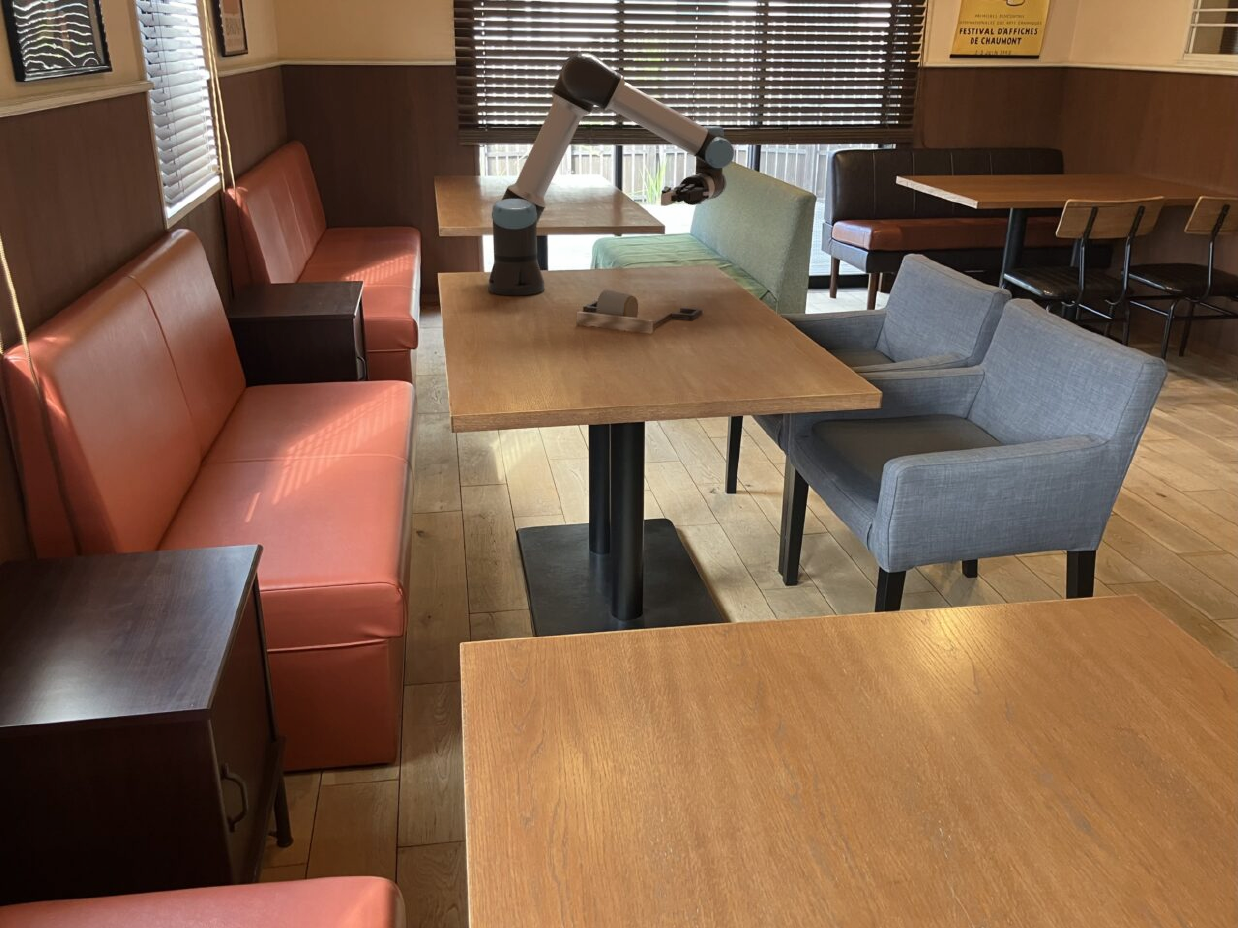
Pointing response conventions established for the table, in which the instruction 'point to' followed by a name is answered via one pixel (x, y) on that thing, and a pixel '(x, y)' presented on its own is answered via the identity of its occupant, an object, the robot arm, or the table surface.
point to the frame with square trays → (630, 319)
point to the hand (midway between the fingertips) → (663, 200)
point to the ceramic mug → (617, 304)
